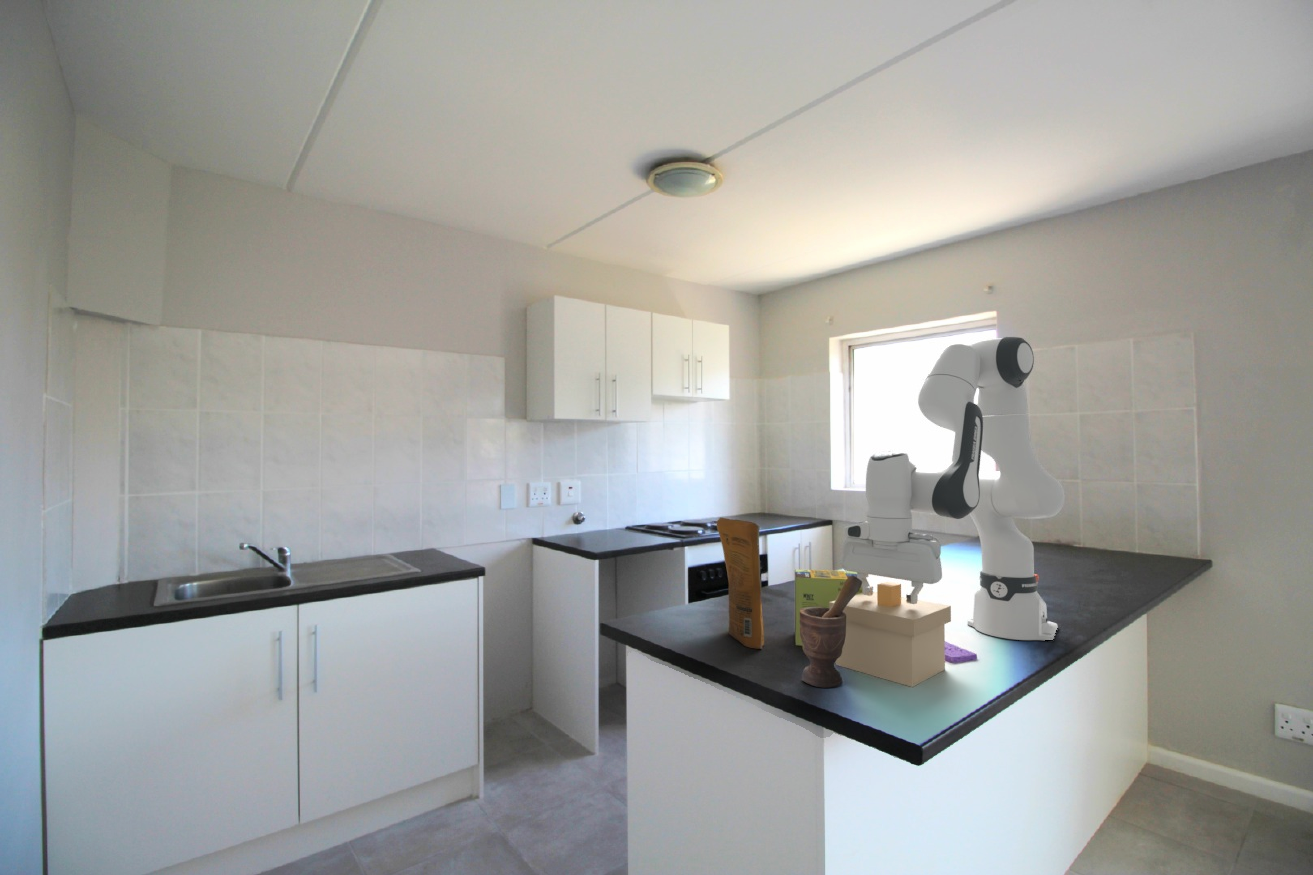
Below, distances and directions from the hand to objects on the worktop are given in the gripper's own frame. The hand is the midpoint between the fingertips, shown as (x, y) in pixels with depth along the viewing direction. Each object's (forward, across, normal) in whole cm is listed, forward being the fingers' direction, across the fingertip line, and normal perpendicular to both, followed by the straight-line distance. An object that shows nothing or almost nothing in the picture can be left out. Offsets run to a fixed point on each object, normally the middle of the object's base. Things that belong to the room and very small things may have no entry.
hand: (889, 599), depth 124 cm
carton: (+14, 0, 0) cm, 14 cm away
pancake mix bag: (+14, +32, +8) cm, 36 cm away
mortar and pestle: (+14, +4, +16) cm, 21 cm away
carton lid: (+4, 0, 0) cm, 4 cm away
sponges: (+14, -3, -18) cm, 23 cm away
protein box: (+14, +18, -6) cm, 24 cm away
